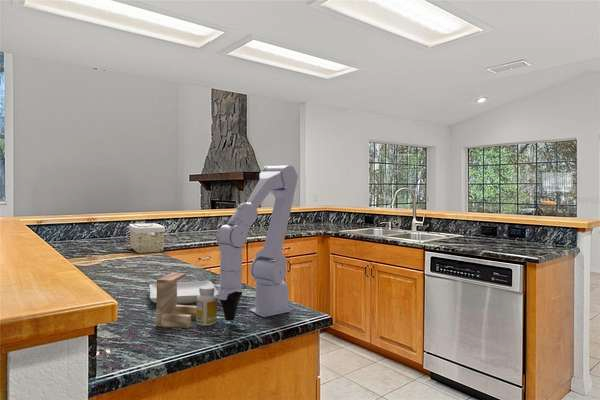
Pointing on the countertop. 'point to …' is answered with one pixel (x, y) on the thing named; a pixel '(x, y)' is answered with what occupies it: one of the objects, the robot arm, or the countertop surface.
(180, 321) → the socket station
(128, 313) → the countertop surface
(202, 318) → the supplement bottle
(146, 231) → the storage basket
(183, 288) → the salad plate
